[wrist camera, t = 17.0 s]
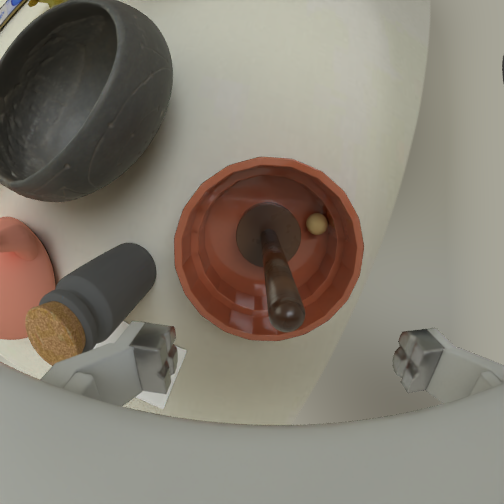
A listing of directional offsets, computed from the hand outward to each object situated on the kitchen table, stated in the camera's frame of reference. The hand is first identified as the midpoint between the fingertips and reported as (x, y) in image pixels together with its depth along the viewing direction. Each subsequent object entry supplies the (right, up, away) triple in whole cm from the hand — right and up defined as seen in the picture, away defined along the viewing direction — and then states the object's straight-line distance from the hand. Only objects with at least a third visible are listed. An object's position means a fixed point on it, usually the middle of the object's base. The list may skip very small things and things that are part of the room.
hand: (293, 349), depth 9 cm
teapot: (-31, +1, +19) cm, 37 cm away
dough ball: (+4, +6, +16) cm, 18 cm away
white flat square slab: (-17, -11, +23) cm, 30 cm away
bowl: (-16, +18, +15) cm, 29 cm away
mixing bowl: (0, +5, +18) cm, 19 cm away
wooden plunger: (0, +5, +17) cm, 18 cm away
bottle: (-14, +2, +19) cm, 24 cm away
